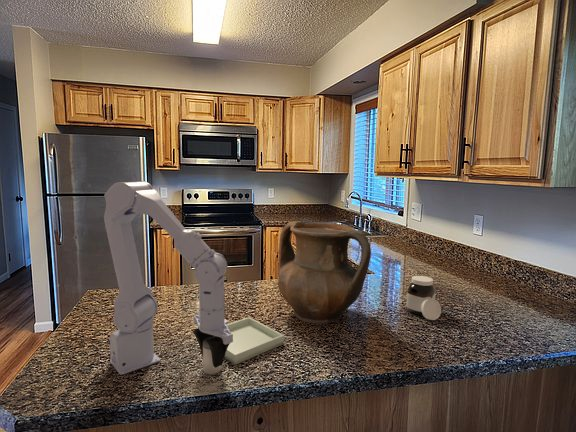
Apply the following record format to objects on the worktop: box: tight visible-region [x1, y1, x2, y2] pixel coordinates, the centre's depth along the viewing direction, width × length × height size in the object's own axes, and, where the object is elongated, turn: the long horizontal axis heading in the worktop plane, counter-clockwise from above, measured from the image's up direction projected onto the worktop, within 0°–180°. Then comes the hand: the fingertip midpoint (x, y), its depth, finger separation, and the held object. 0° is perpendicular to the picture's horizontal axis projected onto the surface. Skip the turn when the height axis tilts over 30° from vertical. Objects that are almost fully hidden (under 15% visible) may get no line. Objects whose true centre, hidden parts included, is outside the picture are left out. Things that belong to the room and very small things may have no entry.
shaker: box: [202, 337, 223, 375], centre depth 84 cm, size 4×4×7 cm
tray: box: [214, 316, 285, 365], centre depth 98 cm, size 16×16×2 cm
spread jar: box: [406, 275, 442, 321], centre depth 119 cm, size 12×11×12 cm
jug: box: [277, 221, 372, 325], centre depth 117 cm, size 32×28×30 cm
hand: (212, 361), depth 85 cm, fingers closed on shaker, 4 cm apart
